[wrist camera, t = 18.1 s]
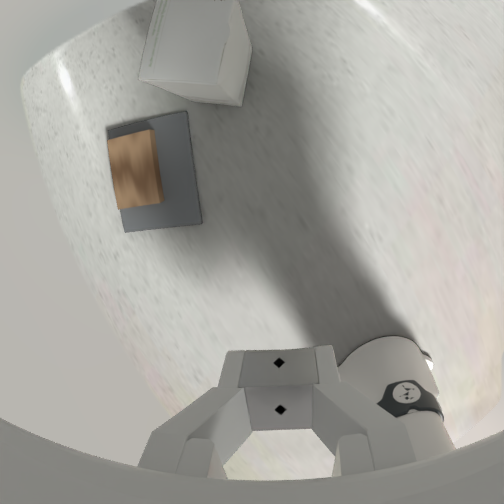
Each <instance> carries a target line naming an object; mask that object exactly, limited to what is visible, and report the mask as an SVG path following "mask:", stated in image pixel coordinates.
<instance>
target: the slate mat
mask: <svg viewBox="0 0 504 504" xmlns="http://www.w3.org/2000/svg"><path fill="white" fill-rule="evenodd" d="M145 130H154V131H155V139H156V147H157V154H158V162H159V169H160V175H161V182H162V188H163V195H164V201H163V202H161V203H157V204H150V205H143V206H137V207H130V208H124V209H120V212H121V217H122V222H123V227H124V231H125V233H126V232H134V231H143V230H151V229H159V228H168V227H177V226H186V225H196V224H202V218H201V212H200V205H199V198H198V192H197V185H196V178H195V170H194V163H193V156H192V148H191V140H190V132H189V124H188V115H187V111H185V112H180V113H175V114H171V115H166V116H162V117H157V118H153V119H149V120H145V121H141V122H137V123H133V124H129V125H126V126H122V127H118V128H115V129H112V130H108V133H109V140H110V139H114V138H118V137H121V136H125V135H129V134H133V133H137V132H141V131H145Z"/></svg>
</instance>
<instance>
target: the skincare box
mask: <svg viewBox="0 0 504 504" xmlns="http://www.w3.org/2000/svg"><path fill="white" fill-rule="evenodd" d="M251 54H252V45H251V42H250V39H249V35H248V32H247V28H246V25H245V21H244V18H243V14H242V11H241V8H240V4H239V1H238V0H157V1H156V5H155V8H154V12H153V15H152V19H151V22H150V26H149V30H148V34H147V38H146V42H145V47H144V51H143V56H142V60H141V66H140V71H139V76H138V80H141V81H143V82H146V83H149V84H151V85H154V86H157V87H159V88H162V89H164V90H167V91H169V92H171V93H174V94H176V95H179V96H181V97H183V98H186V99H188V100H190V101H193V102H202V103H212V104H222V105H231V106H239V107H241V106H242V102H243V97H244V92H245V87H246V81H247V76H248V71H249V65H250V60H251Z"/></svg>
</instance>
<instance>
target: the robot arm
mask: <svg viewBox="0 0 504 504" xmlns="http://www.w3.org/2000/svg"><path fill="white" fill-rule="evenodd" d="M432 368H433V361H432V359H431V358H430V357H428V356H426V355H424V354H422V353H421V351H420V349H419V348H418V346H417V345H416V344H415V343H414V342H413V341H411V340H409V339H407V338H404V337H399V336H388V337H382V338H378V339H375V340H372V341H370V342H368V343H366V344H364V345H362V346H360V347H359V348H357V349H356V350H355V351H354V352H352V353H351V354H350V355H349V356H348V357H347V358H346V359H345V361H344V362H343V363H342V364H341V365H340V366H339V367H337V364H336V359H335V354H334V350H333V346H332V345H324V346H316V347H312V348H299V349H284V350H246V351H245V350H238V351H228V352H227V354H226V357H225V361H224V365H223V369H222V372H221V376H220V380H219V384H218V387H212V388H211V389H210V390H208V391H207V392H206V393H205V394H203V395H202V396H201V397H199V398H198V399H197V400H195V401H194V402H193V403H191V404H190V405H189V406H187V407H186V408H185V409H183V410H182V411H181V412H179V413H178V414H176V415H175V416H174V417H172V418H171V419H169V420H168V421H167V422H165V423H164V424H162V425H161V426H160V427H159V428H157V429H156V430H154V431H153V432H152V433H151V436H150V438H149V440H148V443H147V445H146V447H145V450H144V452H143V455H142V457H141V459H140V462H139V464H138V466H137V467H135V466H131V465H127V464H123V463H118V462H115V461H111V460H107V459H104V458H100V457H97V456H93V455H90V454H87V453H83V452H81V451H77V450H74V449H72V448H69V447H66V446H63V445H61V444H58V443H55V442H53V441H50V440H48V439H45V438H42V437H40V436H38V435H35V434H33V433H31V432H28V431H26V430H24V429H22V428H20V427H17V426H16V425H13V424H11V423H9V422H7V421H5V420H3V419H1V418H0V504H504V430H503V431H501V432H499V433H497V434H494V435H492V436H490V437H487V438H485V439H482V440H480V441H477V442H475V443H472V444H470V445H467V446H464V447H461V448H459V449H456V448H455V446H454V444H453V442H452V440H451V439H450V436H449V434H448V432H447V430H446V428H445V426H444V424H443V422H444V416H443V414H442V409H441V407H440V404H439V403H438V402H437V397H438V396H439V391H438V388H437V385H436V383H435V380H434V377H433V375H432V373H431V370H432ZM286 429H312V430H313V431H314V432H315V434H316V435H317V436H318V437H319V438H320V440H321V441H322V442H323V443H324V444H325V445H326V447H327V448H328V449H329V450H330V451H331V452H332V453H333V455H334V456H335V462H334V467H333V472H332V477H328V478H317V479H303V480H279V481H254V480H229V479H228V478H227V476H226V473H225V471H224V468H223V465H224V464H225V463H226V462H227V461H228V460H229V459H230V457H231V456H232V455H233V454H234V453H235V452H236V451H237V450H238V448H239V447H240V446H241V445H242V444H243V443H244V442H245V440H246V439H247V438H248V437H249V436H250V435H251V433H252V431H263V430H286Z"/></svg>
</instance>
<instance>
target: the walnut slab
mask: <svg viewBox="0 0 504 504" xmlns="http://www.w3.org/2000/svg"><path fill="white" fill-rule="evenodd" d="M107 142H108V150H109V158H110V165H111V171H112V178H113V184H114V190H115V196H116V201H117V207H118V209H124V208H130V207H137V206H143V205H150V204H157V203H161V202H163V201H164V195H163V188H162V182H161V175H160V169H159V162H158V154H157V147H156V139H155V131H154V130H145V131H141V132H137V133H133V134H129V135H125V136H121V137H118V138H114V139H110V140H107Z"/></svg>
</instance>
